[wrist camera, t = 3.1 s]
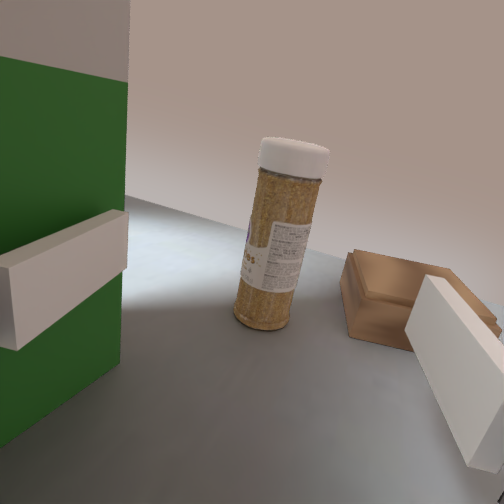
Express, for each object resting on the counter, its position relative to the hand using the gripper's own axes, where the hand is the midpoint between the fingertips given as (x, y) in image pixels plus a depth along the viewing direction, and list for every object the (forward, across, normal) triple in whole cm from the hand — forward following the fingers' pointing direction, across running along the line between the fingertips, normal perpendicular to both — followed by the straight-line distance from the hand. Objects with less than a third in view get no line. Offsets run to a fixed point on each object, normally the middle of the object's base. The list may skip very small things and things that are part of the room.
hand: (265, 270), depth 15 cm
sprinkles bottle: (+10, 0, -8) cm, 13 cm away
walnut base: (+15, +12, -8) cm, 21 cm away
